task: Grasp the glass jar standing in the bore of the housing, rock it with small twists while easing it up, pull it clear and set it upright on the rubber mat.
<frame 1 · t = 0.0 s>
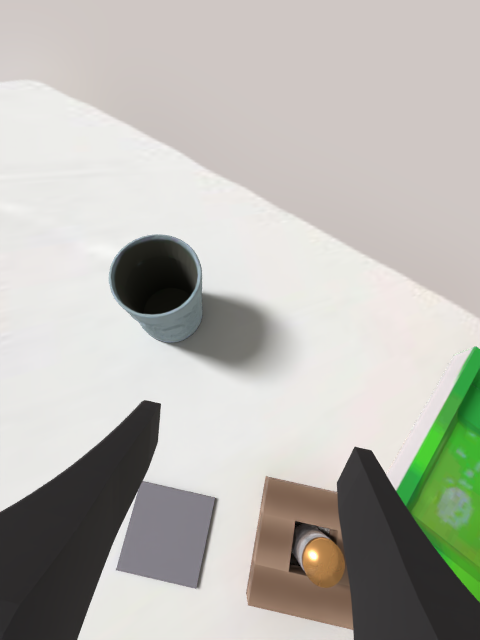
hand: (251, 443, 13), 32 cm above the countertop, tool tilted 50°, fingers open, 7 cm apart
grey cup: (170, 313, 49), on the countertop
glass jar: (315, 552, 36), in the housing
mat: (167, 531, 39), on the countertop
housing: (307, 543, 40), on the countertop
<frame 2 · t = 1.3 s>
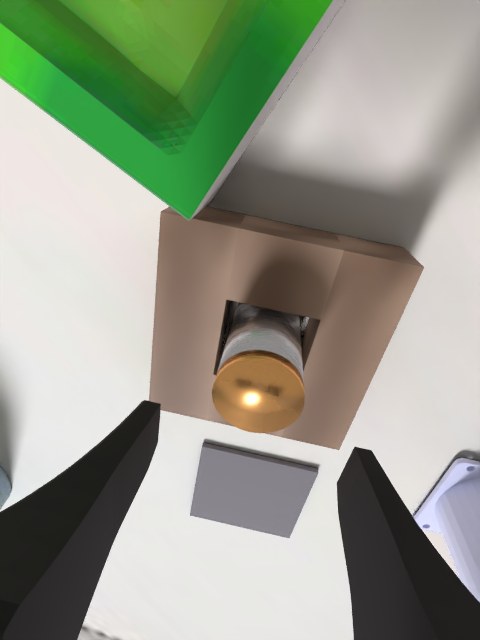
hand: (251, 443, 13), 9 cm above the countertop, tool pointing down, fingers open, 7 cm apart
glass jar: (262, 353, 18), in the housing
mat: (249, 491, 29), on the countertop
housing: (266, 322, 21), on the countertop
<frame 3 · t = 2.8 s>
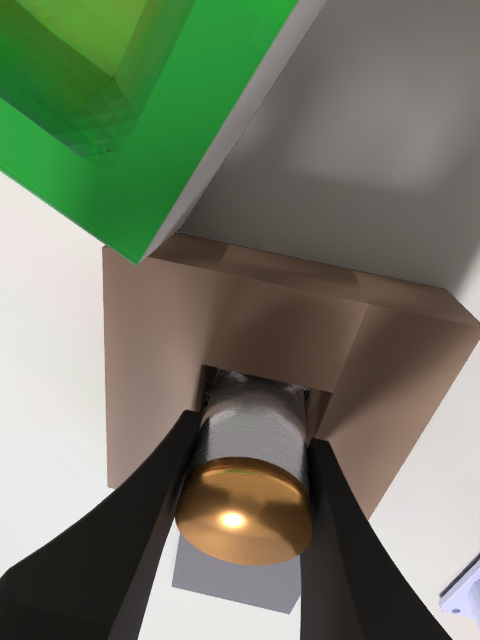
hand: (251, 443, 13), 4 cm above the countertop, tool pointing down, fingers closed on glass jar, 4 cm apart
glass jar: (252, 435, 13), in the housing, touching gripper
mat: (241, 563, 24), on the countertop
housing: (259, 378, 16), on the countertop
when the fingers open (5 cm above the countertop, at t = 7.7 s): glass jar moves 1 cm, resting on mat.
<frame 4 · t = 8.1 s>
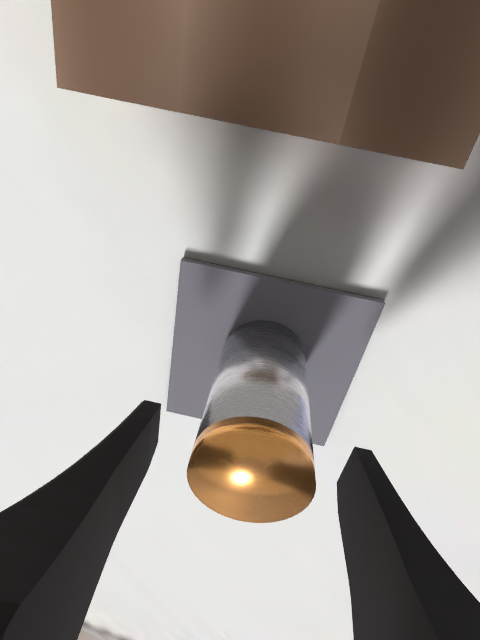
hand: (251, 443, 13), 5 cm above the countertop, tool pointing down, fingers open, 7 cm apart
glass jar: (258, 405, 14), on the mat
mat: (261, 359, 17), on the countertop
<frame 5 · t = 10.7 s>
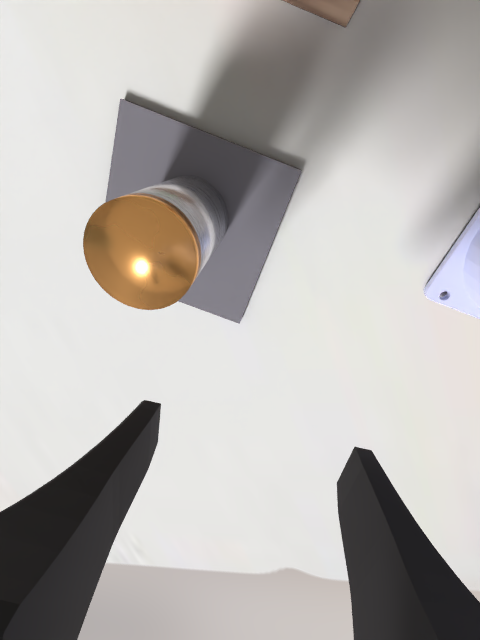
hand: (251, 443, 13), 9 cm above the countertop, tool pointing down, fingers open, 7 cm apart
glass jar: (170, 233, 15), on the mat
mat: (189, 224, 19), on the countertop
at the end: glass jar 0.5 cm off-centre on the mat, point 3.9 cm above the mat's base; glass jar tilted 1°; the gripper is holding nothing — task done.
